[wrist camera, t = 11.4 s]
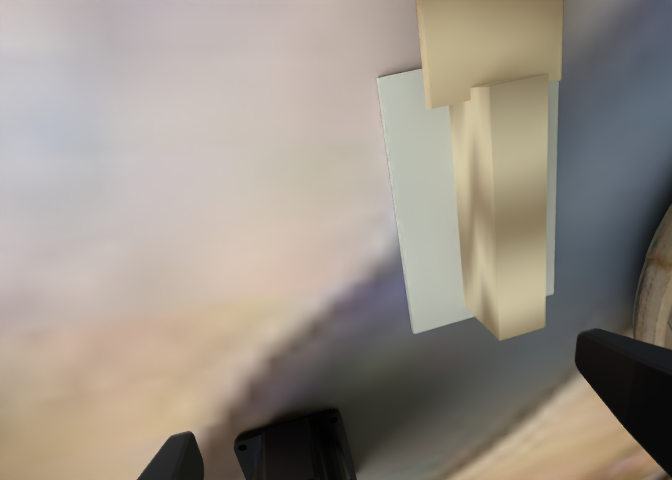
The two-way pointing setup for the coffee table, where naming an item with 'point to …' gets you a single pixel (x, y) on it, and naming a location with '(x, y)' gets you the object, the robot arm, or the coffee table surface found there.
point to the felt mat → (438, 198)
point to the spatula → (497, 144)
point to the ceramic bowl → (656, 289)
